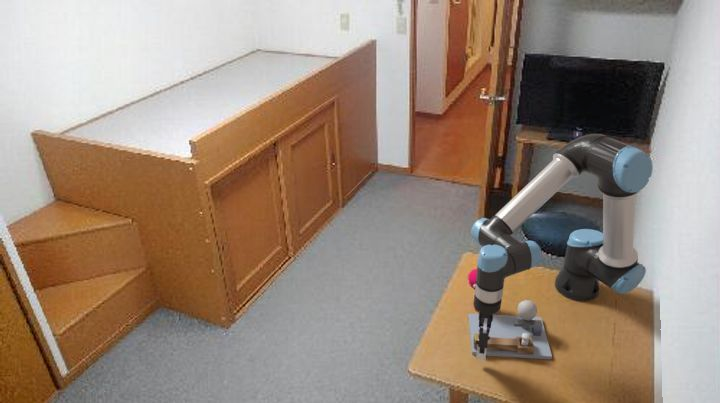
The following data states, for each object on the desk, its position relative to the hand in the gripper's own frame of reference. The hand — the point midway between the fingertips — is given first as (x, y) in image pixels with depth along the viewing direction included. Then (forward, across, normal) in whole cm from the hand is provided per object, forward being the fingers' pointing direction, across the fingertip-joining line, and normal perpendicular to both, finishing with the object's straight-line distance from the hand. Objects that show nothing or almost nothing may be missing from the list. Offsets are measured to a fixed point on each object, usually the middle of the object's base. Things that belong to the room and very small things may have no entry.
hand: (480, 357), depth 165 cm
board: (+3, -14, +8) cm, 17 cm away
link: (+1, -7, +6) cm, 10 cm away
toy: (+3, -27, -2) cm, 27 cm away
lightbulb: (+3, -19, +13) cm, 23 cm away
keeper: (+3, -16, +14) cm, 21 cm away
